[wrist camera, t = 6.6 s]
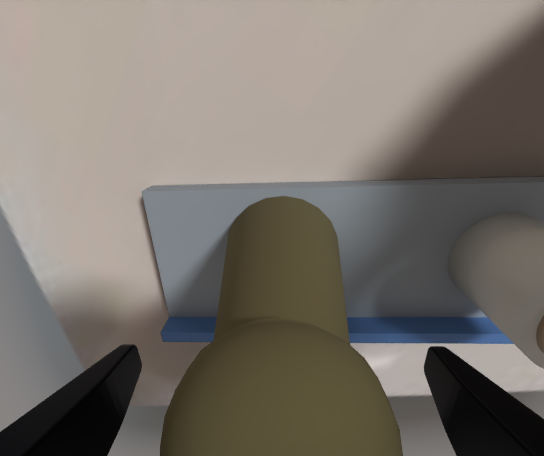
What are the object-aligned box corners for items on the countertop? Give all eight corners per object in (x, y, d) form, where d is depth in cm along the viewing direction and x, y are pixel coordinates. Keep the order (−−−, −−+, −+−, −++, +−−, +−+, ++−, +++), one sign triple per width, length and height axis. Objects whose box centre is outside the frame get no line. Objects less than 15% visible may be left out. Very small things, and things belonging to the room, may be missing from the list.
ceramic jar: (564, 211, 13) (739, 272, 8) (531, 296, 15) (656, 387, 10) (459, 213, 14) (566, 273, 9) (439, 296, 16) (516, 386, 10)
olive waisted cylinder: (324, 181, 13) (453, 396, 3) (348, 282, 15) (470, 602, 5) (210, 213, 14) (25, 463, 4) (247, 305, 16) (189, 616, 6)
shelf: (553, 176, 14) (606, 188, 12) (504, 313, 17) (537, 343, 15) (152, 185, 15) (128, 198, 13) (178, 313, 18) (162, 341, 16)
